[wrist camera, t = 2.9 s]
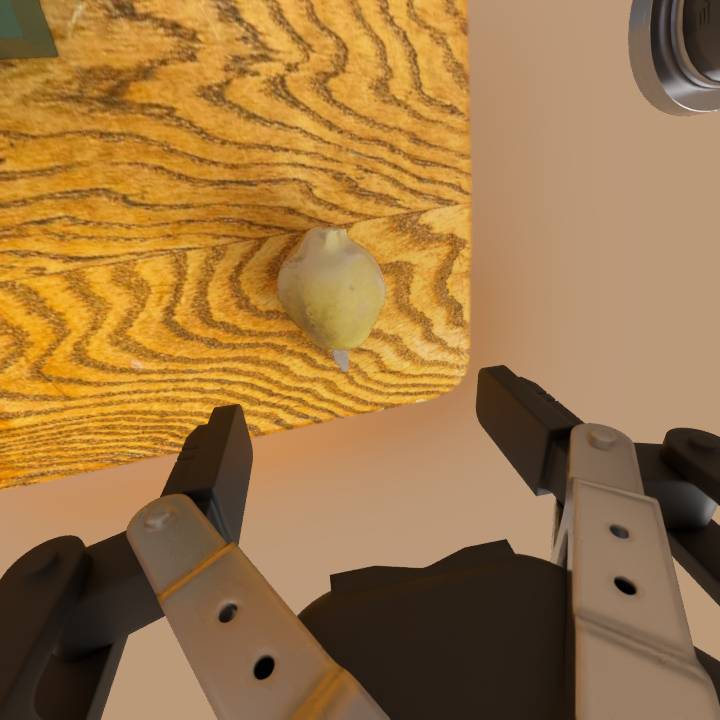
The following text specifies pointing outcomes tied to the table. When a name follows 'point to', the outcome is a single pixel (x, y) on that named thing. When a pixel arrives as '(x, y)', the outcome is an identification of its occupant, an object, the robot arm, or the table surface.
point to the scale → (24, 31)
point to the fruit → (332, 291)
